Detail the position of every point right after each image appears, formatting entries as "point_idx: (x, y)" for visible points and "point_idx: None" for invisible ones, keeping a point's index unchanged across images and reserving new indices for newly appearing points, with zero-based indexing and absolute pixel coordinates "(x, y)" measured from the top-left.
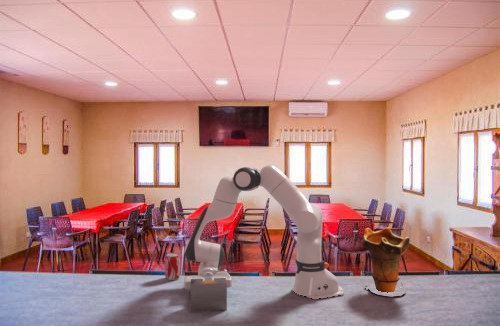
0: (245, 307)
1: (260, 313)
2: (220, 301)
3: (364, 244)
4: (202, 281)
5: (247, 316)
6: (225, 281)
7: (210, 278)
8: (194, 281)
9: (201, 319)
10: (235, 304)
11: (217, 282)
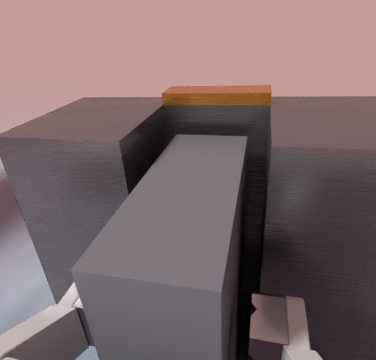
0: (7, 262)
1: (10, 208)
2: None
3: None
4: (274, 113)
5: None
6: (72, 105)
7: (129, 228)
8: (373, 118)
9: None
10: (17, 311)
11: (141, 102)
